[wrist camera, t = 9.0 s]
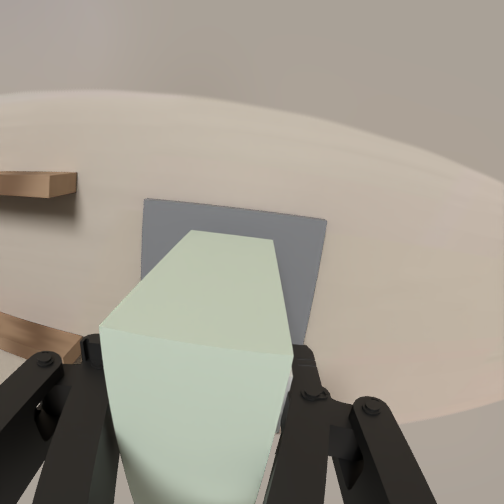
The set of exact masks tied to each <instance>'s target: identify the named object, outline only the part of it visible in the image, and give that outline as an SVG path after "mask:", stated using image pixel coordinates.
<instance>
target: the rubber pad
mask: <svg viewBox="0 0 504 504" xmlns="http://www.w3.org/2000/svg"><path fill="white" fill-rule="evenodd" d="M326 225H327V221H326V220H325V219H319V218H312V217H305V216H298V215H290V214H283V213H275V212H267V211H259V210H251V209H243V208H235V207H226V206H217V205H209V204H199V203H190V202H180V201H170V200H160V199H149V198H147V199H144V208H143V226H142V253H141V280H142V279H143V278H144V277H145V276H146V275H147V274H148V273H149V272H150V271H151V270H152V269H153V268H154V267H155V266H156V265H157V264H158V263H159V262H160V261H161V260H162V259H163V258H164V257H165V256H166V255H167V254H168V253H169V252H170V251H171V250H172V249H173V247H174V246H175V245H176V244H177V243H178V242H179V241H180V240H181V239H182V238H183V237H185V236H186V235H187V234H188V233H189V232H190V231H191V230H197V231H205V232H213V233H222V234H230V235H238V236H246V237H254V238H262V239H270V240H273V243H274V248H275V253H276V259H277V264H278V270H279V275H280V280H281V286H282V291H283V297H284V303H285V308H286V314H287V320H288V325H289V331H290V337H291V343H292V344H297V345H303V342H304V338H305V333H306V329H307V324H308V319H309V315H310V310H311V305H312V300H313V295H314V291H315V285H316V280H317V275H318V270H319V265H320V259H321V254H322V248H323V243H324V237H325V231H326Z"/></svg>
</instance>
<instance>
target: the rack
mask: <svg viewBox="0 0 504 504" xmlns="http://www.w3.org/2000/svg"><path fill="white" fill-rule="evenodd" d="M76 181H77V173H73V172H26V171H2V172H0V195H10V196H26V197H42V198H51V197H56V196H60V195H65V194H69V193H74V192H76ZM82 338H83V337H82V336H80V335H76V334H72V333H68V332H65V331H61V330H57V329H54V328H50V327H47V326H43V325H40V324H36V323H33V322H30V321H26V320H23V319H20V318H17V317H14V316H11V315H8V314H5V313H2V312H0V349H2V350H4V351H7V352H9V353H12V354H14V355H17V356H20V357H22V358H25V359H29V358H30V357H31V356H32V355H34V354H35V353H37V352H41V351H53V352H56V353H57V354H59V355H60V356H61V358H62V362H63V364H73V363H74V362H75V361H76V360H77V358H78V357H79V356H80V355H81V348H80V340H81V339H82Z"/></svg>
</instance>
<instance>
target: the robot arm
mask: <svg viewBox="0 0 504 504" xmlns="http://www.w3.org/2000/svg"><path fill="white" fill-rule="evenodd" d="M80 348H81V355H82V364H63V362H62V358H61V356H60V355H59V354H57V353H56V352H53V351H41V352H37V353H35V354H34V355H32V356H31V357H30V358H29V359H28V360H27V361H25V362H24V363H23V364H22V365H21V366H20V367H19V368H18V369H17V370H16V371H15V372H14V373H13V374H11V375H10V376H9V377H8V378H7V379H6V380H5V381H4V382H3V383H2V384H1V385H0V504H17V502H18V500H19V499H20V497H21V495H22V494H23V493H24V491H25V489H26V488H27V486H28V485H29V483H30V482H31V480H32V479H33V477H34V476H35V474H36V473H37V471H38V470H39V468H40V467H41V465H42V464H43V462H44V461H45V462H44V465H43V468H42V472H41V475H40V478H39V482H38V485H37V489H36V492H35V496H34V499H33V503H32V504H114V496H115V487H116V478H117V469H118V462H119V454H120V451H119V447H118V443H117V438H116V434H115V429H114V424H113V420H112V414H111V409H110V404H109V398H108V392H107V386H106V380H105V373H104V366H103V359H102V351H101V342H100V334H91V335H87V336H85V337H83V338H82V339H81V340H80ZM292 348H293V354H294V357H293V361H292V366H291V370H290V374H289V379H288V383H287V387H286V391H285V395H284V399H283V404H282V408H281V412H280V416H279V419H278V423H277V427H276V431H275V433H279V429H280V426H281V435H280V439H279V442H278V446H277V449H276V453H275V454H276V455H275V459H274V463H273V467H272V471H271V475H270V479H269V482H268V486H267V490H266V494H265V497H264V501H263V504H324V495H325V484H326V473H327V460H328V456H332V460H333V463H334V467H335V471H336V475H337V479H338V482H339V486H340V490H341V494H342V498H343V502H344V504H437V503H436V501H435V499H434V496H433V494H432V492H431V490H430V488H429V486H428V484H427V482H426V480H425V477H424V475H423V473H422V471H421V469H420V467H419V465H418V463H417V461H416V459H415V457H414V455H413V453H412V451H411V449H410V447H409V445H408V443H407V441H406V439H405V437H404V436H403V433H402V431H401V429H400V428H399V426H398V424H397V422H396V420H395V418H394V416H393V414H392V412H391V410H390V408H389V407H388V406H387V404H386V403H385V402H383V401H382V400H380V399H378V398H375V397H369V396H365V397H360V398H358V399H356V400H355V402H354V404H353V405H351V404H346V403H342V402H339V401H336V400H334V399H332V398H331V396H330V393H329V392H328V390H327V389H326V388H324V387H322V385H321V381H320V377H319V374H318V370H317V367H316V362H315V358H314V355H313V352H312V351H311V350H310V349H309V348H308V346H307V345H297V344H292ZM39 403H40V405H39V406H38V407H37V405H38V404H39ZM36 407H37V408H36Z"/></svg>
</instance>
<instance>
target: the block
mask: <svg viewBox="0 0 504 504" xmlns="http://www.w3.org/2000/svg"><path fill="white" fill-rule="evenodd" d="M99 332H100V342H101V351H102V359H103V366H104V373H105V380H106V386H107V392H108V398H109V404H110V409H111V414H112V420H113V424H114V429H115V434H116V438H117V443H118V447H119V451H120V455H121V459H122V463H123V466H124V471H125V474H126V478H127V481H128V485H129V488H130V492H131V495H132V498H133V501H134V504H255V502H256V498H257V495H258V492H259V488H260V485H261V482H262V478H263V475H264V471H265V467H266V464H267V461H268V457H269V453H270V450H271V446H272V442H273V439H274V435H275V431H276V427H277V423H278V419H279V416H280V412H281V408H282V404H283V399H284V395H285V391H286V387H287V383H288V379H289V374H290V370H291V366H292V361H293V357H294V354H293V348H292V343H291V337H290V331H289V325H288V320H287V314H286V308H285V303H284V297H283V291H282V286H281V280H280V275H279V270H278V264H277V259H276V253H275V248H274V243H273V240H270V239H262V238H254V237H246V236H238V235H230V234H222V233H213V232H205V231H197V230H191V231H190V232H189V233H188V234H187V235H186V236H185V237H183V238H182V239H181V240H180V241H179V242H178V243H177V244H176V245H175V246H174V247H173V249H172V250H171V251H170V252H169V253H168V254H167V255H166V256H165V257H164V258H163V259H162V260H161V261H160V262H159V263H158V264H157V265H156V266H155V267H154V268H153V269H152V270H151V271H150V272H149V273H148V274H147V275H146V276H145V277H144V278H143V279H142V280H141V281H140V282H139V283H138V285H137V286H136V287H135V288H134V289H133V290H132V291H131V292H130V293H129V294H128V295H127V296H126V297H125V298H124V299H123V300H122V302H121V303H120V304H119V305H118V306H117V307H116V308H115V309H114V310H113V311H112V312H111V313H110V314H109V316H108V317H107V318H106V319H105V320H104V321H103V322H102V323H101V324H100V325H99Z"/></svg>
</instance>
